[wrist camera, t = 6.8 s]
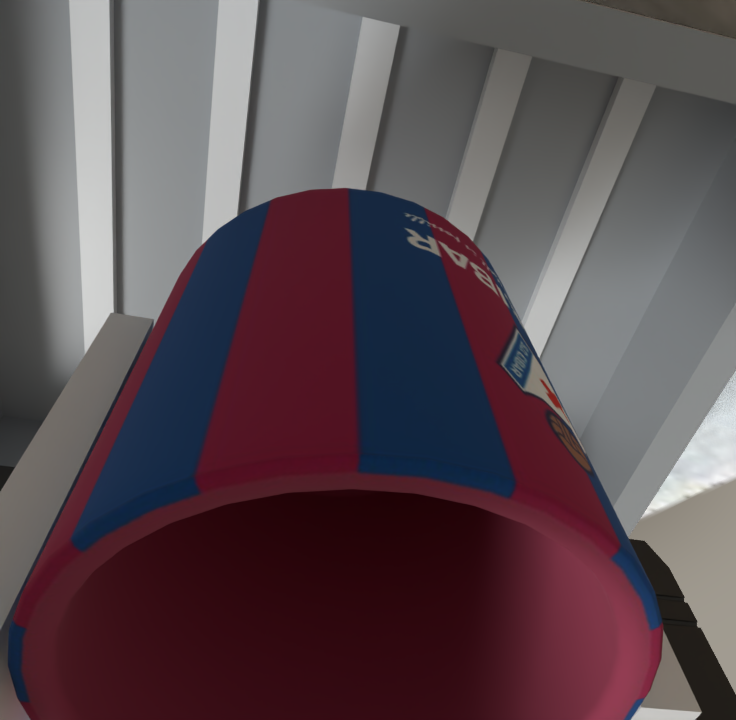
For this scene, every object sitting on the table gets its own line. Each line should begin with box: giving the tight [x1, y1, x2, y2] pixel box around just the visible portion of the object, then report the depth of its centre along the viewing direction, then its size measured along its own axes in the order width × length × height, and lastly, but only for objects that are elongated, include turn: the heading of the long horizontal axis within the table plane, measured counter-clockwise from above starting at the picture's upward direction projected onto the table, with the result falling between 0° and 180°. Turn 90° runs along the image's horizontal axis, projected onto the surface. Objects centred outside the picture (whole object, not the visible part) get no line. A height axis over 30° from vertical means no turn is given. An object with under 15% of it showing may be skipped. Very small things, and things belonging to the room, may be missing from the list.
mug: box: [8, 188, 664, 720], centre depth 10 cm, size 7×10×7 cm
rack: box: [0, 0, 736, 537], centre depth 16 cm, size 15×20×4 cm
